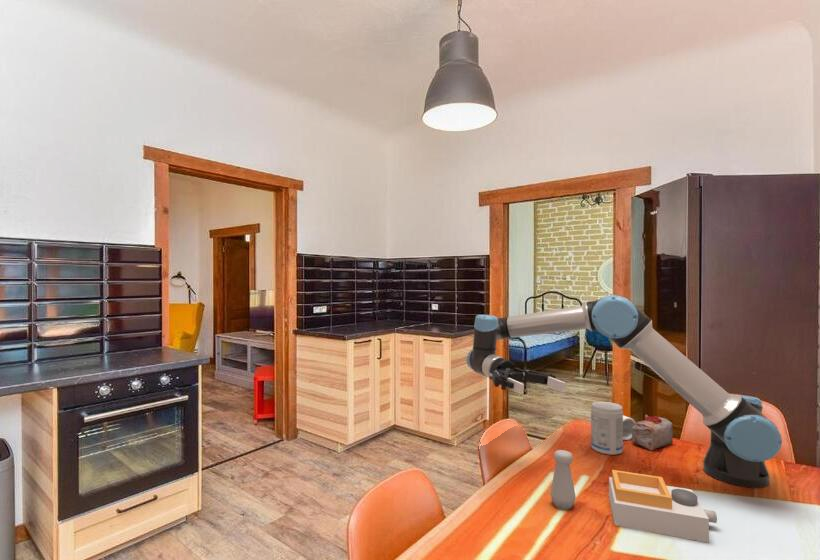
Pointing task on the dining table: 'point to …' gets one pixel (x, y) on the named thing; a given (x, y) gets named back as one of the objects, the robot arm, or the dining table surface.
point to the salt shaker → (563, 481)
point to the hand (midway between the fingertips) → (544, 388)
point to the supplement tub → (607, 428)
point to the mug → (627, 427)
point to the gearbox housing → (657, 507)
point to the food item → (652, 433)
